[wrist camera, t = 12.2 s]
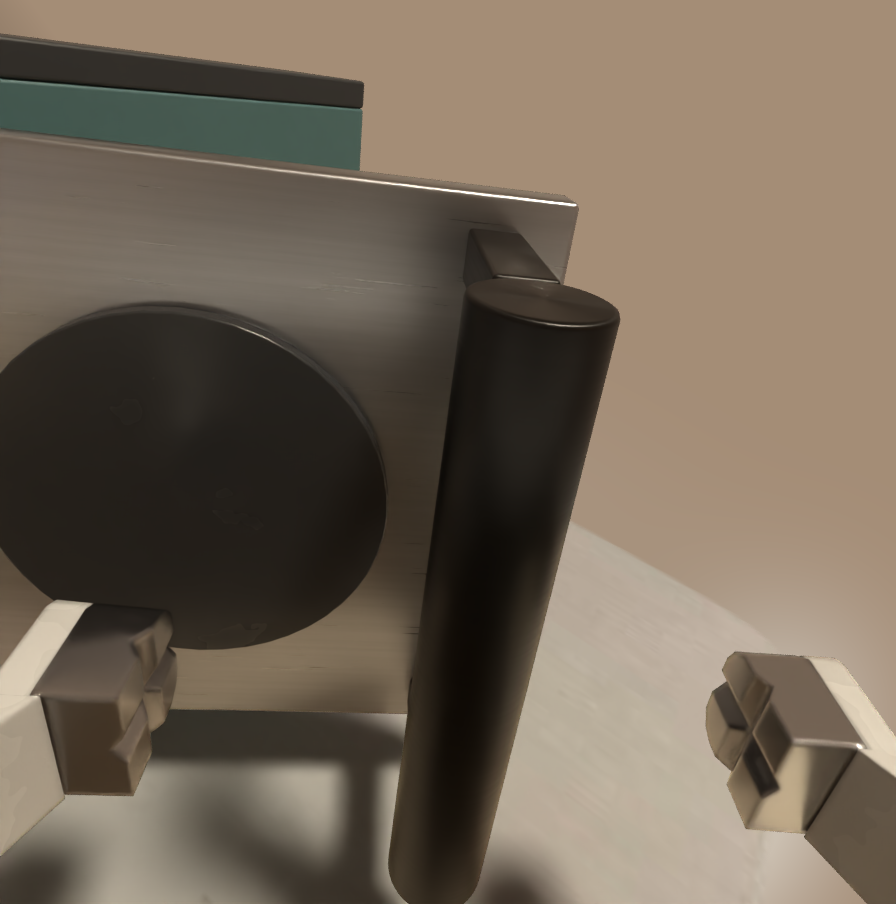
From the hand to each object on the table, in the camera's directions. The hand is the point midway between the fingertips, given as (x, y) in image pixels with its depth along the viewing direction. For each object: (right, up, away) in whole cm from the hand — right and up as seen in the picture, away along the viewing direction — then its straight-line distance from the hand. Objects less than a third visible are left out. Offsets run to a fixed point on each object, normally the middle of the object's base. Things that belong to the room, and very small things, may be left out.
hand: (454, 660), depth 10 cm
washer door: (-4, -3, +3) cm, 6 cm away
